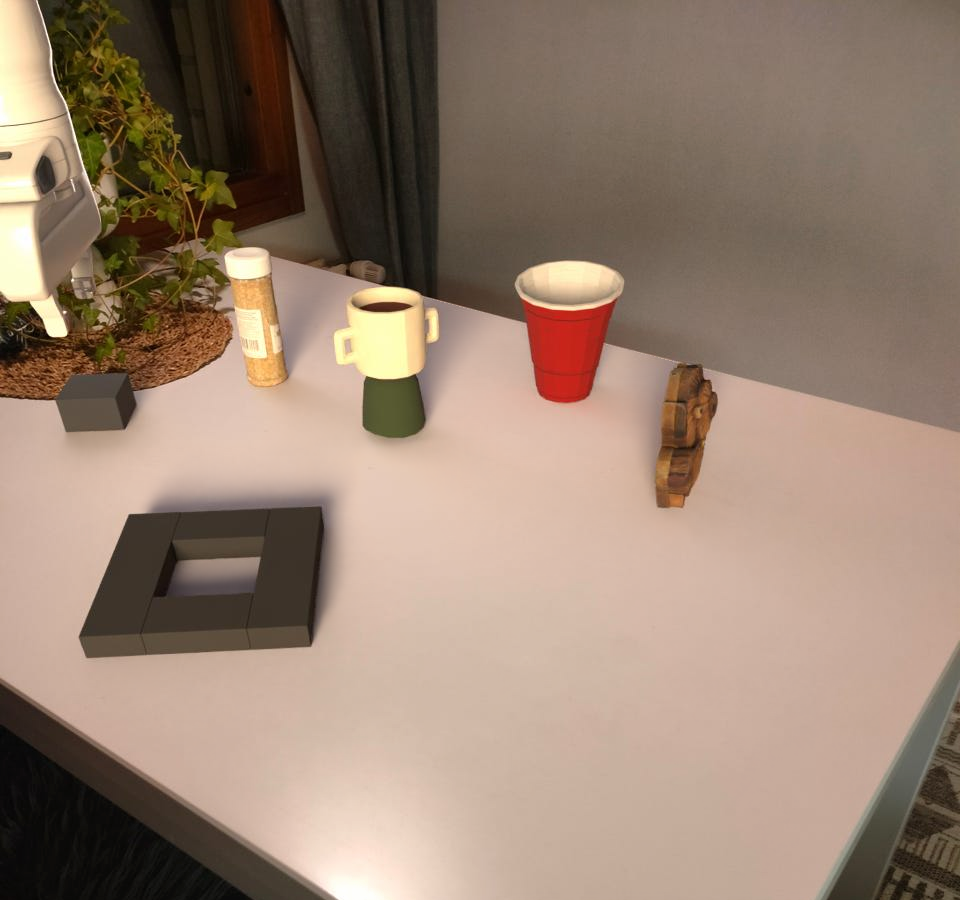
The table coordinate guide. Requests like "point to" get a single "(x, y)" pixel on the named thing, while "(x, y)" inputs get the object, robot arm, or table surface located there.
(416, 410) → the character mug
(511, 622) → the table surface
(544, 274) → the plastic cup
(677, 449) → the wooden carving
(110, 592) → the base pad
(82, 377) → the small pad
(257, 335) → the sprinkles bottle
